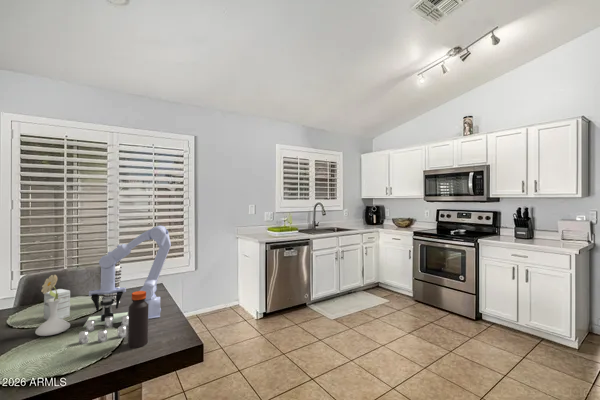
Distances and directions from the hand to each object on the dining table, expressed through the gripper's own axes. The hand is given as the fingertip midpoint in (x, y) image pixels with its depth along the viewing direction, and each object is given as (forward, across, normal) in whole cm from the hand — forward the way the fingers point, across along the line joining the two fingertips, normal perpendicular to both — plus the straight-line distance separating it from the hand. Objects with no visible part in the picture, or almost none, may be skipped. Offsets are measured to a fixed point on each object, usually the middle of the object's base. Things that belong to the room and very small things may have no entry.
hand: (107, 309), depth 138 cm
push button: (+5, 0, -2) cm, 5 cm away
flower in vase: (+5, -18, -8) cm, 20 cm away
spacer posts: (+5, +2, -17) cm, 18 cm away
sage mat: (+5, 0, 0) cm, 5 cm away
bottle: (+5, +15, -33) cm, 37 cm away
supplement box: (+5, -22, +12) cm, 26 cm away
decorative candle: (+5, -2, +26) cm, 27 cm away
